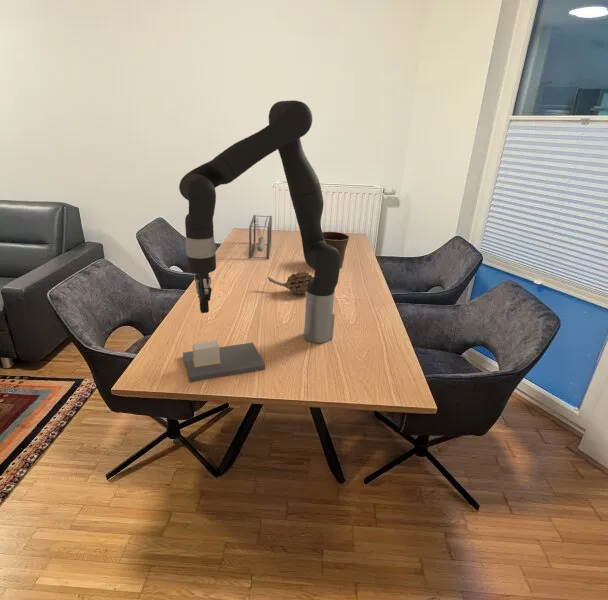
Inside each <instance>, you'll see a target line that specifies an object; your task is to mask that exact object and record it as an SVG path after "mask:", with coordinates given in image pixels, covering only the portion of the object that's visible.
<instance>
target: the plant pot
mask: <svg viewBox="0 0 608 600" xmlns="http://www.w3.org/2000/svg"><path fill="white" fill-rule="evenodd" d="M322 233H323V237H324V240H325V242H326V244H329V245H331V246H333V247H334V248H336V249H337V250H338V251H339V253H340V257H341V263H340V269H341V268H343V265H344V259H345V254H346V250H347V246H348V242H349V240H350V236H349V235H348V234H346V233H344V232H340V231H339V232H337V231H322Z"/></svg>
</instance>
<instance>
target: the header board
mask: <svg viewBox="0 0 608 600" xmlns="http://www.w3.org/2000/svg"><path fill="white" fill-rule="evenodd" d="M219 352H220V363H214V364H208V365H202V366H195V362H194V357H193V350H192V351H191V350H190V351H184V352H182V355H183V361H184V365H185V369H186V374H187V377H188V383H193V382H198V381H203V380H211V379H217V378H223V377H227V376H234V375H239V374H245V373H252V372H256V371H257V372H258V371H262V370H266V364H265V362H264V360H263V358H262V357H261V355H260V352H259V351H258V350H257V348H256V346H255V344H254V342H248V343H239V344H234V345H227V346H219Z"/></svg>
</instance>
